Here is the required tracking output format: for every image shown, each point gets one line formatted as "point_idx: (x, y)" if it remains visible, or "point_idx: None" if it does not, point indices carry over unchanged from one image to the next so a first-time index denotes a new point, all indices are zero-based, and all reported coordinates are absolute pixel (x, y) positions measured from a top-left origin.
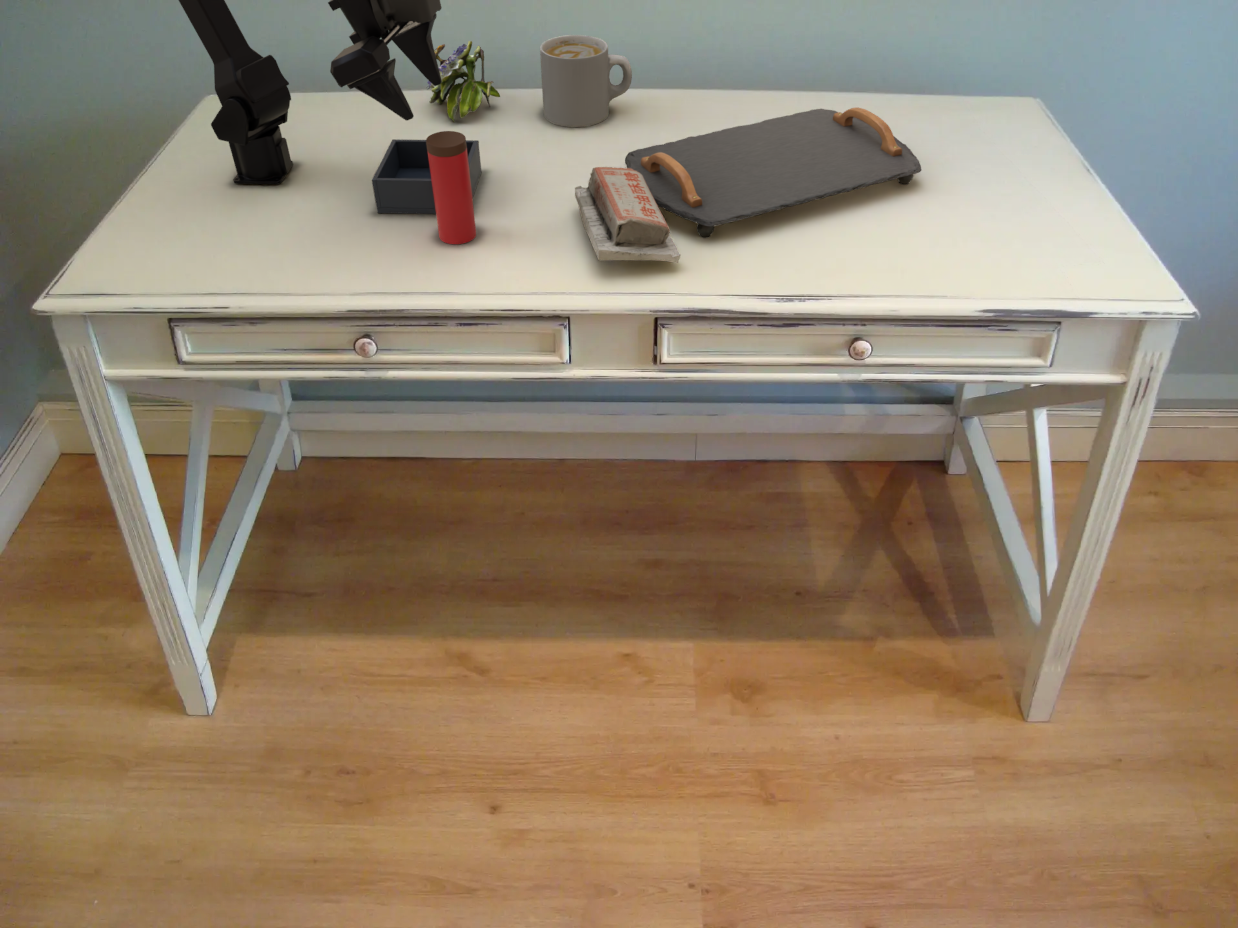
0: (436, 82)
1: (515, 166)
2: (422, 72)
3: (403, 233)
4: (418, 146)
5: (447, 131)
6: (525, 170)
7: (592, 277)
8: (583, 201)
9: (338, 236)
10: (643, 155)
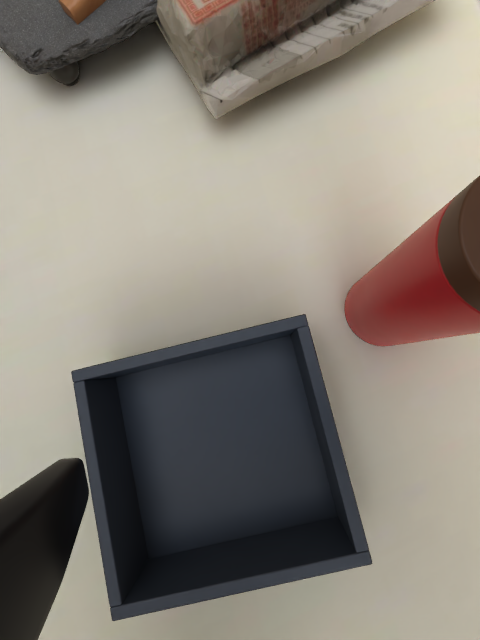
0: (76, 488)
1: (68, 312)
2: (37, 623)
3: (409, 421)
4: (116, 529)
5: (475, 256)
6: (81, 285)
7: (440, 35)
8: (271, 65)
9: (470, 560)
10: (34, 32)
